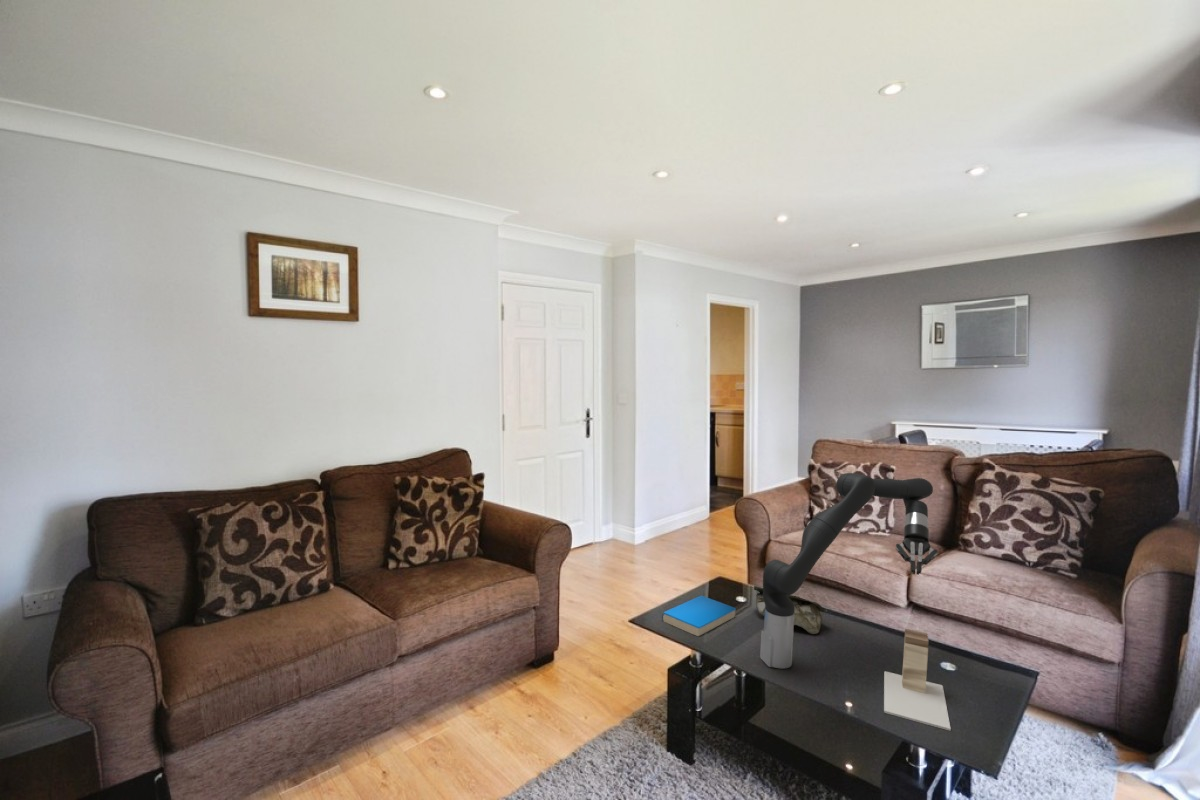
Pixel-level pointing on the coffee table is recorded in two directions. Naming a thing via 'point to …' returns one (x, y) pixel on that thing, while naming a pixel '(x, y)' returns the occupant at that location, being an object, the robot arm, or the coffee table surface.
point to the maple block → (915, 661)
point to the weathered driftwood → (799, 611)
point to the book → (699, 615)
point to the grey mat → (915, 702)
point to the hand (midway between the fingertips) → (916, 573)
